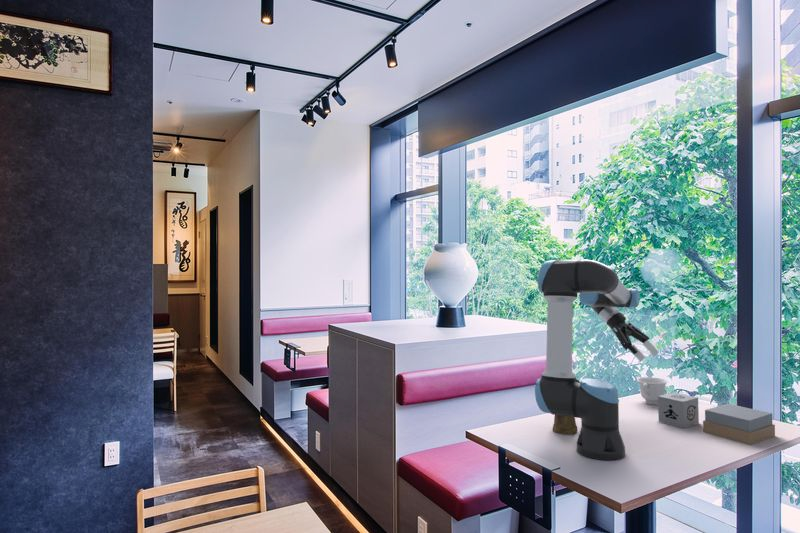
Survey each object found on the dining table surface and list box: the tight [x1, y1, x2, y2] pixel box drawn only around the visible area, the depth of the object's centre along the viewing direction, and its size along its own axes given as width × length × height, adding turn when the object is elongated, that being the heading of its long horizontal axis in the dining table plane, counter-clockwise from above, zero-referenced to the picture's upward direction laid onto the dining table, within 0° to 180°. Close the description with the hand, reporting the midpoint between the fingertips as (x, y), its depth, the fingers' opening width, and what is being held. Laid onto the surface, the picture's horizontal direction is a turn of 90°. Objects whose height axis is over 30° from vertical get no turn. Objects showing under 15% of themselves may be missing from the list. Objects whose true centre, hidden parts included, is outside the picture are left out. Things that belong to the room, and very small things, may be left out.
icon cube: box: [657, 392, 700, 429], centre depth 197 cm, size 10×10×10 cm
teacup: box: [636, 376, 668, 405], centre depth 223 cm, size 12×15×10 cm
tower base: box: [702, 403, 776, 446], centre depth 182 cm, size 16×16×8 cm
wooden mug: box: [552, 378, 581, 435], centre depth 192 cm, size 9×14×18 cm, turn 128°
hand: (650, 356), depth 204 cm, fingers open, 13 cm apart
